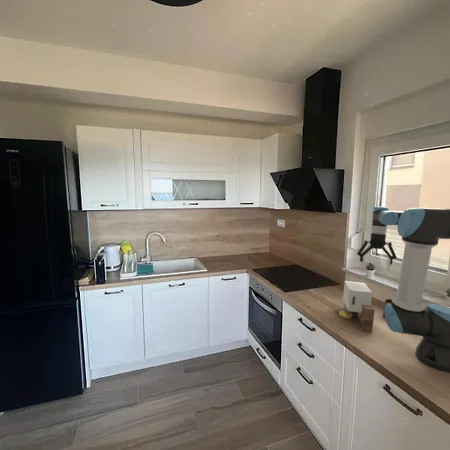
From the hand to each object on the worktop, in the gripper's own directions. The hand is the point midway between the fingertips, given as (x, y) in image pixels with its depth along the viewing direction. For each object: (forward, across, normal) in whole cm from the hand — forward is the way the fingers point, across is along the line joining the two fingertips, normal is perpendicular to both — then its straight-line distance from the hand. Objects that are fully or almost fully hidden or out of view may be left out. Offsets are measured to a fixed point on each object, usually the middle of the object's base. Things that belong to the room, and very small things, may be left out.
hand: (375, 268), depth 152 cm
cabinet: (+26, +10, +10) cm, 30 cm away
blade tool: (+27, +8, +17) cm, 33 cm away
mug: (+27, -11, +3) cm, 29 cm away
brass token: (+27, +16, +13) cm, 34 cm away
